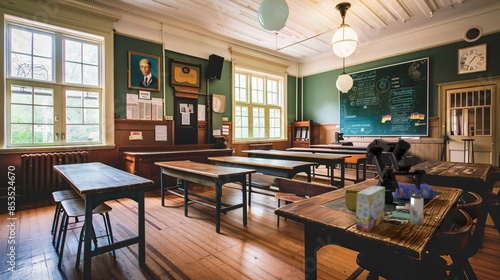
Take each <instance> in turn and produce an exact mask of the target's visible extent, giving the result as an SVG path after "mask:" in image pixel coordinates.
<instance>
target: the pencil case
mask: <svg viewBox="0 0 500 280" xmlns="http://www.w3.org/2000/svg"><path fill="white" fill-rule="evenodd" d="M397 183H398V185H399V189H397V188H396V192H395V193H394V192H392V194H393V199H399V200H410V197H412V194H421V198H423V200H432V199H433V198H434V196H435V195H434V194H435V193H434V190H433V188H432V186H431V185H429V184H427V183H421V185H420V190H418V189H417V187H416V185H415V184H404V183H400V182H397Z"/></svg>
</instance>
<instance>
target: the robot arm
mask: <svg viewBox="0 0 500 280" xmlns="http://www.w3.org/2000/svg"><path fill="white" fill-rule="evenodd" d="M411 147H412V145H411V143H409V142H408V141H406V140H404V138H403V139H402V138H401V139H399V140H398V141H396V142H395V141H394V142H393V141H388V140H384V139H382V138H375V139H373V141H372V142H371V143H369V144H368V145H367V147H366V153H367V154H368V157H369V158H371V159H372V160H373V162H374V165H375V168H376V172H377V173H378V176H379V179H378V181H377V184H376V186H381V187H385V204H387V205H393V203H394V197H393V194H392V192H394V193H395V192H396V188H397V189H399V185H398V183H399V182H398V180H397V178H396V176H399V177H411V178H412V182H413V183H414V184H413V185H416V187H417V189H418V190H420V185H421V184H422V183H421V181H422V180H423V179H424V178H425V176H427V174H428V173H427V171H426V169H424V168H415V169H414V171H411V170H412V167H415V166H417V165H418V160H417V158H414V157H413V158H412V157H411V158H405V157H406V155H407V154H408V152H409V151H410V149H411ZM383 151H384V152H385V153H386V154H389V158H388V160H389V161H391V164H392V166H391V167H389V168H388V167H386V164H385V162H384V160H383V157H382V154H383ZM385 204H384V205H385Z"/></svg>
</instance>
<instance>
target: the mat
mask: <svg viewBox="0 0 500 280" xmlns="http://www.w3.org/2000/svg"><path fill="white" fill-rule="evenodd" d="M391 215H392V218H395V219H401V220H408V221H410V213H405V212H398V211H391Z"/></svg>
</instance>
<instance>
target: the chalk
mask: <svg viewBox="0 0 500 280" xmlns="http://www.w3.org/2000/svg"><path fill="white" fill-rule="evenodd" d="M395 207H396V208H395V209H396V210H402V211H403V210H406V211H409V207H405V206H401V205H398V206H397V205H396V206H395Z"/></svg>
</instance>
